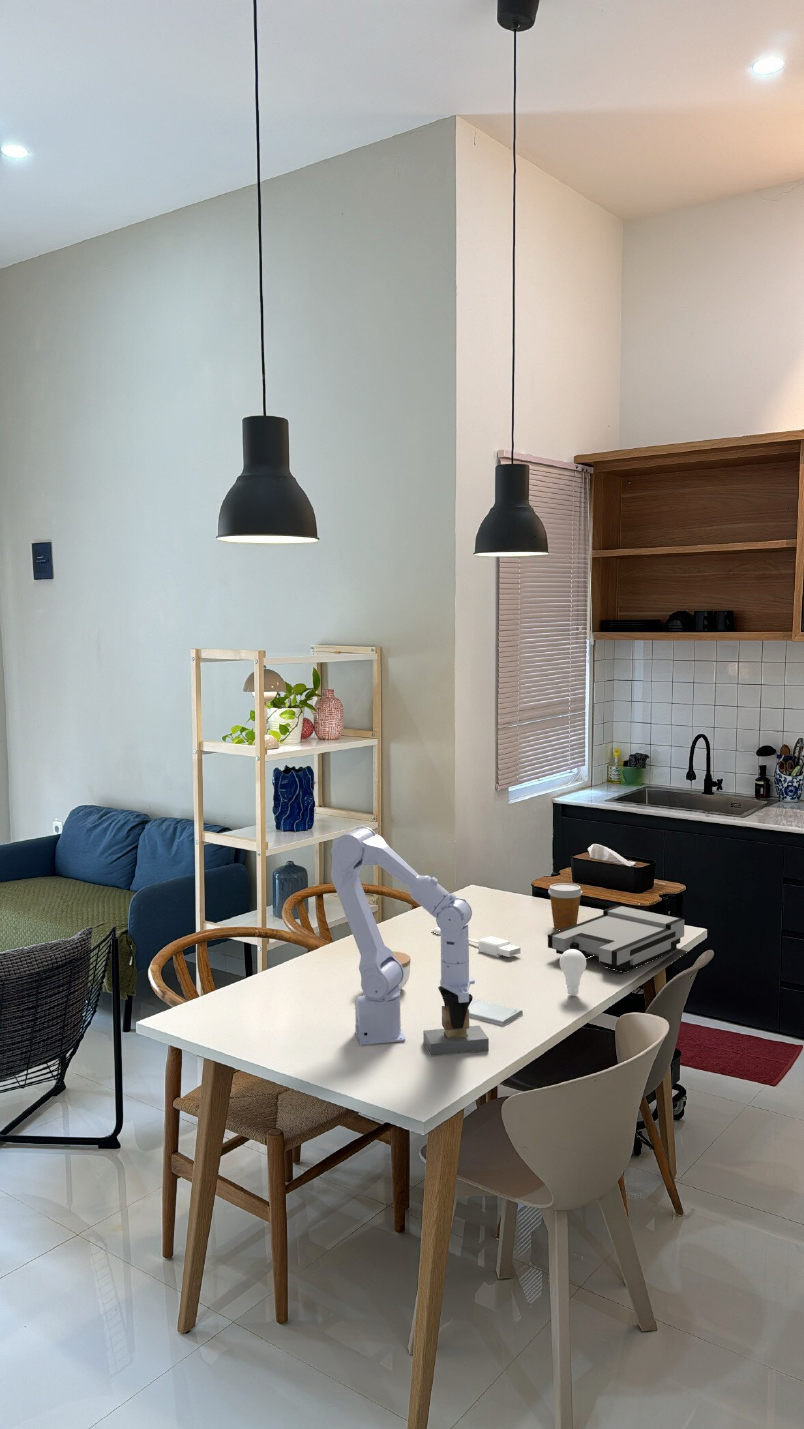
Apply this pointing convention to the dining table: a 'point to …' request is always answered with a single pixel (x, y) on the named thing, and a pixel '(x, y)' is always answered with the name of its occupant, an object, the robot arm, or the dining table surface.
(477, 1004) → the hard drive
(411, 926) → the dining table surface
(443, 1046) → the block
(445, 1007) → the walnut plug
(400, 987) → the lidded jar
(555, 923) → the disposable coffee cup
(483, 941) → the charging cable
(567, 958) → the lightbulb
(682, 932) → the game console
